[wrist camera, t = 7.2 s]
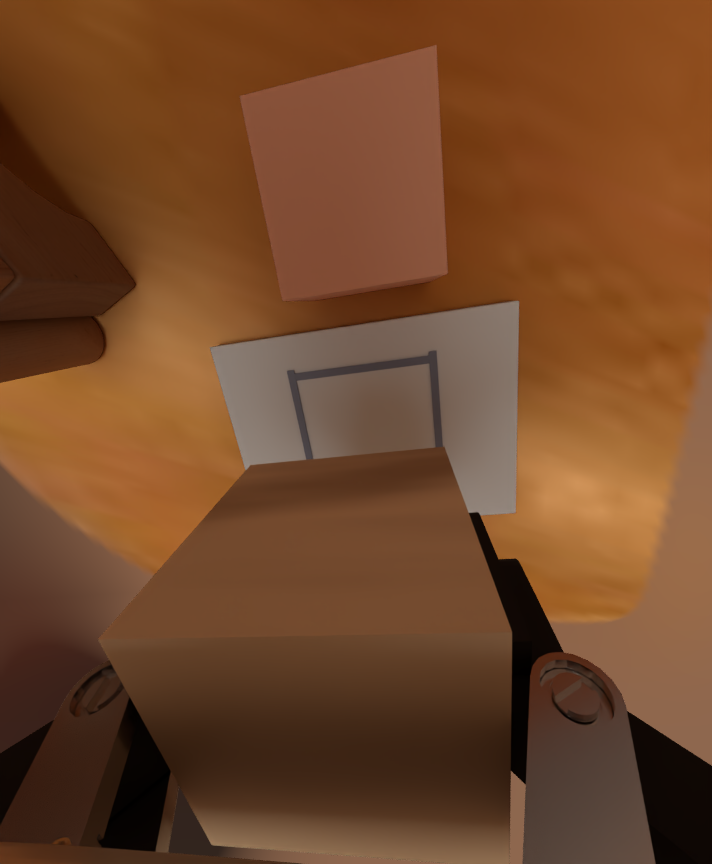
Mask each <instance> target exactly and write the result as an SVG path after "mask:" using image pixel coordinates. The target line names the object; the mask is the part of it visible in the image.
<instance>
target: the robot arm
mask: <svg viewBox="0 0 712 864" xmlns="http://www.w3.org/2000/svg"><path fill="white" fill-rule="evenodd" d="M469 515H470V518H471V521H472V524H473V526H474V529H475V532H476V535H477V537H478V540H479V543H480V545H481V548H482V551H483V554H484V556H485V559H486V562H487V565H488V567H489V570H490V573H491V576H492V578H493V581H494V584H495V587H496V589H497V592H498V595H499V597H500V600H501V603H502V606H503V608H504V611H505V614H506V617H507V619H508V622H509V625H510V628H511V630H512V695H511V771H512V772H513V773H514V774H515V775H516V776H517V777H518V778H519V779H521V780H522V781H523V782H524V783H525V784H526V793H525V794H526V795H525V818H524V843H523V864H712V766H711V765H710V764H708V763H707V762H705V761H703V760H702V759H700V758H699V757H697V756H696V755H694V754H693V753H691V752H689V751H688V750H686V749H685V748H683V747H682V746H680V745H679V744H677V743H676V742H674V741H672V740H671V739H669V738H668V737H666V736H665V735H663V734H662V733H660V732H659V731H657V730H656V729H654V728H653V727H651V726H649V725H648V724H646V723H645V722H643V721H642V720H640V719H639V718H637V717H636V716H634V715H633V714H631V713H629V712H628V711H627V709H626V705H625V703H624V700H623V697H622V694H621V693H620V691H619V689H618V688H617V686H616V685H615V684H614V682H613V681H612V679H610V678H609V677H608V676H607V675H606V674H605V673H604V672H603V671H602V670H601V669H600V668H598V667H597V666H595V665H594V664H592V663H591V662H589V661H588V660H586V659H583V658H581V657H578V656H576V655H573V654H568V653H564V652H563V650H562V649H561V646H560V644H559V642H558V640H557V638H556V636H555V634H554V632H553V630H552V628H551V626H550V623H549V621H548V619H547V617H546V615H545V613H544V611H543V609H542V607H541V605H540V603H539V601H538V599H537V597H536V595H535V593H534V591H533V589H532V587H531V585H530V583H529V581H528V579H527V577H526V575H525V573H524V571H523V569H522V567H521V565H520V563H519V561H518V560H517V559H499V560H498V557H497V555H496V553H495V550H494V548H493V545H492V543H491V541H490V538H489V536H488V533H487V531H486V528H485V526H484V524H483V521H482V519H481V516H480V514H479V513H478V512H473V513H469ZM178 789H179V785H178V783H177V781H176V779H175V778H174V776H173V774H172V772H171V770H170V769H169V767H168V765H167V763H166V761H165V760H164V758H163V756H162V754H161V752H160V751H159V749H158V747H157V745H156V743H155V742H154V740H153V738H152V736H151V734H150V733H149V731H148V729H147V727H146V725H145V723H144V722H143V720H142V718H141V716H140V714H139V713H138V711H137V709H136V707H135V705H134V704H133V702H132V700H131V698H130V696H129V695H128V693H127V691H126V689H125V687H124V686H123V684H122V682H121V680H120V678H119V677H118V675H117V673H116V671H115V669H114V668H113V666H112V664H111V662H110V660H109V661H107V662H105V663H102V664H101V665H99V666H98V667H96V668H94V669H93V670H91V671H90V672H89V673H88V674H87V675H85V676H84V677H83V678H82V679H81V680H80V681H79V682H78V683H77V684H76V685H75V686H74V687H73V688H72V689H71V691H70V692H69V694H68V695H67V697H66V698H65V700H64V702H63V704H62V706H61V708H60V710H59V712H58V713H57V715H56V717H55V719H54V720H53V721H51V722H50V723H48V724H46V725H45V726H43V727H42V728H40V729H39V730H37V731H35V732H34V733H32V734H30V735H29V736H27V737H26V738H24V739H23V740H21V741H20V742H18V743H16V744H15V745H13V746H11V747H10V748H8V749H7V750H5V751H3V752H2V753H0V864H299V863H287V862H275V861H263V860H250V859H239V858H227V857H214V856H201V855H190V854H177V853H168V848H169V842H170V836H171V830H172V824H173V818H174V812H175V806H176V801H177V794H178Z"/></svg>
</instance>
